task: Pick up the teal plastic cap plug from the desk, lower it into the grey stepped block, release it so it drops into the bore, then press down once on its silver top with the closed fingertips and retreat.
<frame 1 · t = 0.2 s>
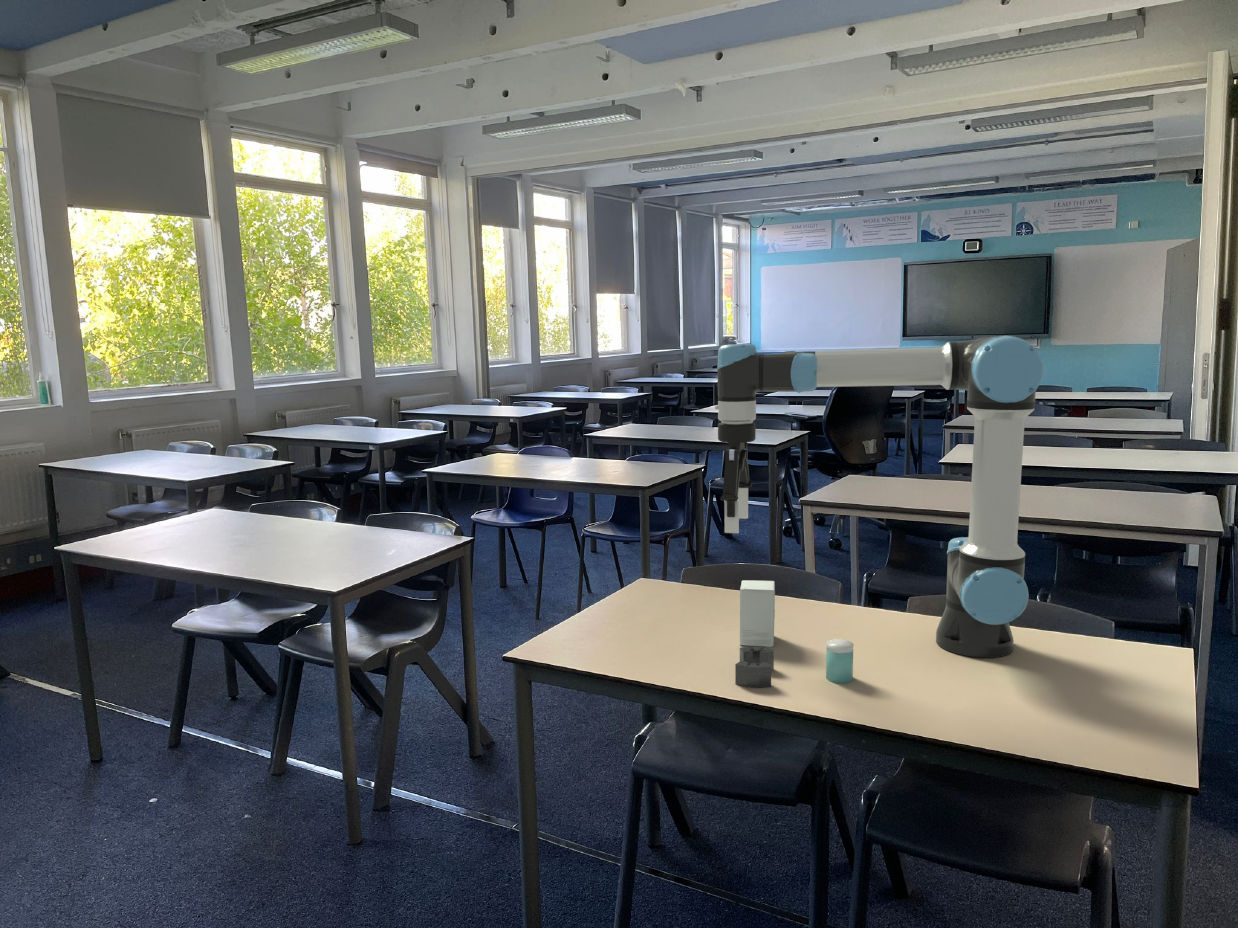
hand: (736, 525, 176), 27 cm above the table, fingers open, 13 cm apart
cap plug: (839, 678, 166), on the table
supplement box: (757, 641, 188), on the table
grey stepped block: (754, 676, 168), on the table
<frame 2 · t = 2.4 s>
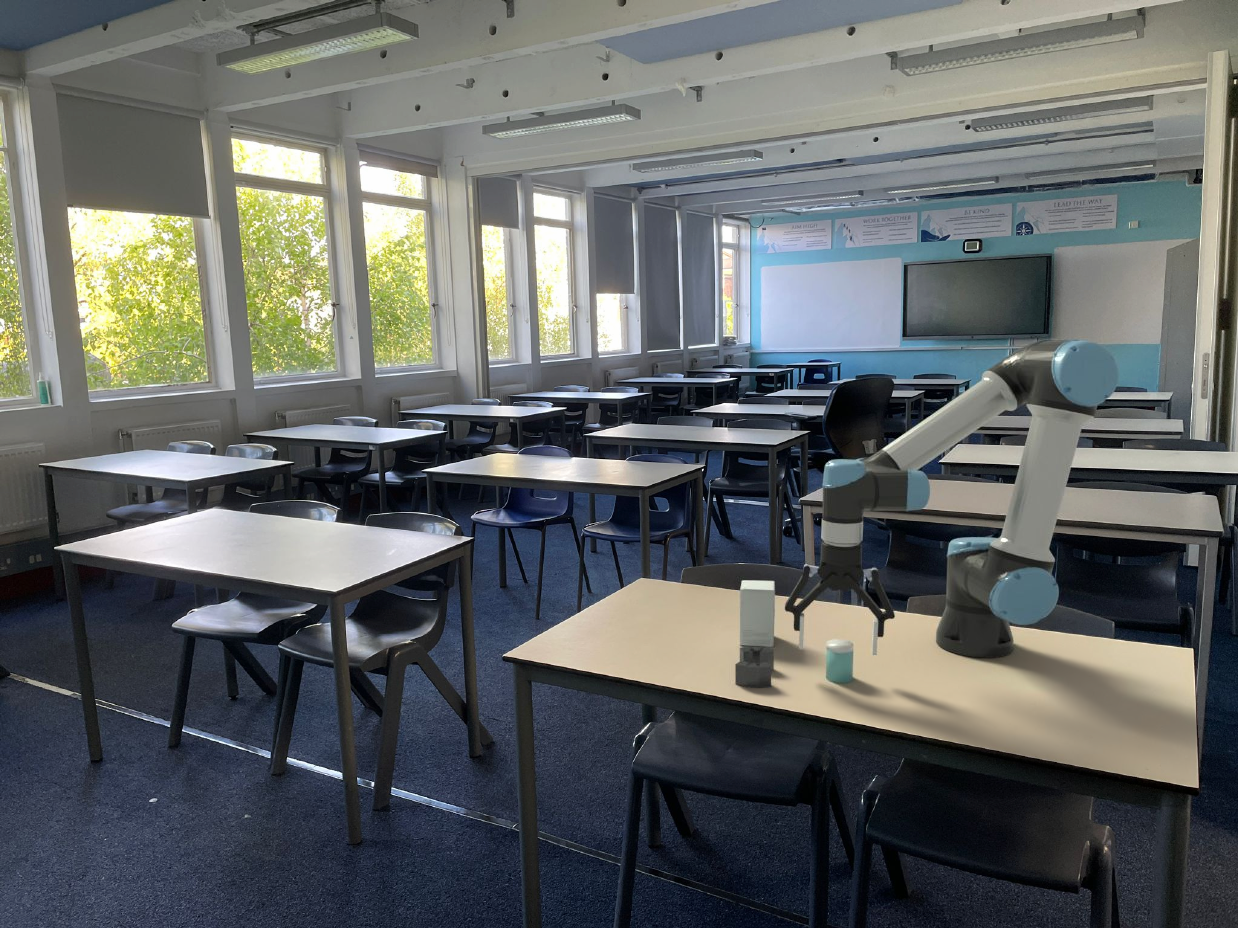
hand: (837, 649, 165), 6 cm above the table, fingers open, 13 cm apart
nothing on the table moved.
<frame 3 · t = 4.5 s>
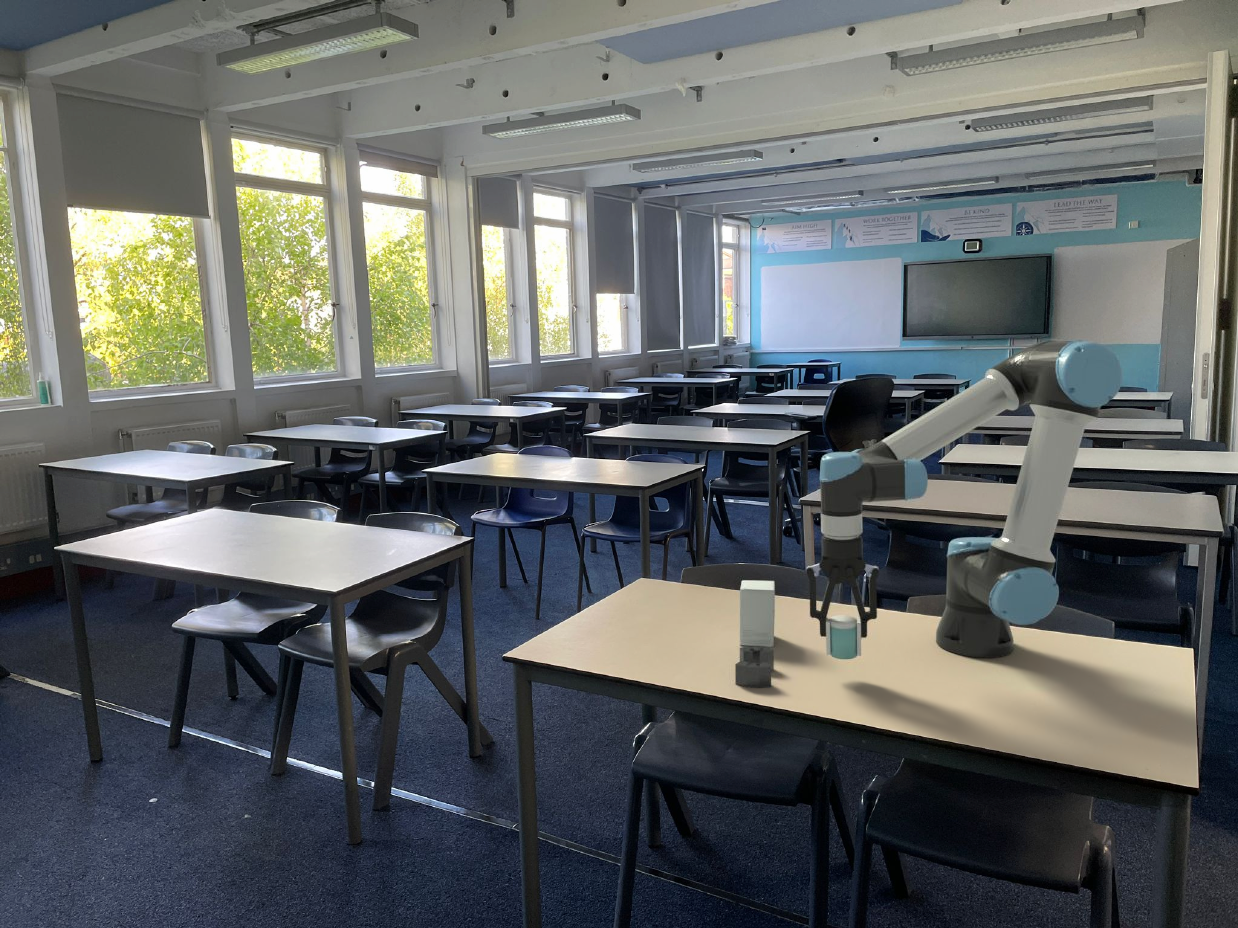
hand: (843, 652, 166), 5 cm above the table, fingers closed on cap plug, 5 cm apart
cap plug: (843, 654, 166), point 5 cm above the table, touching gripper
everything else where it was.
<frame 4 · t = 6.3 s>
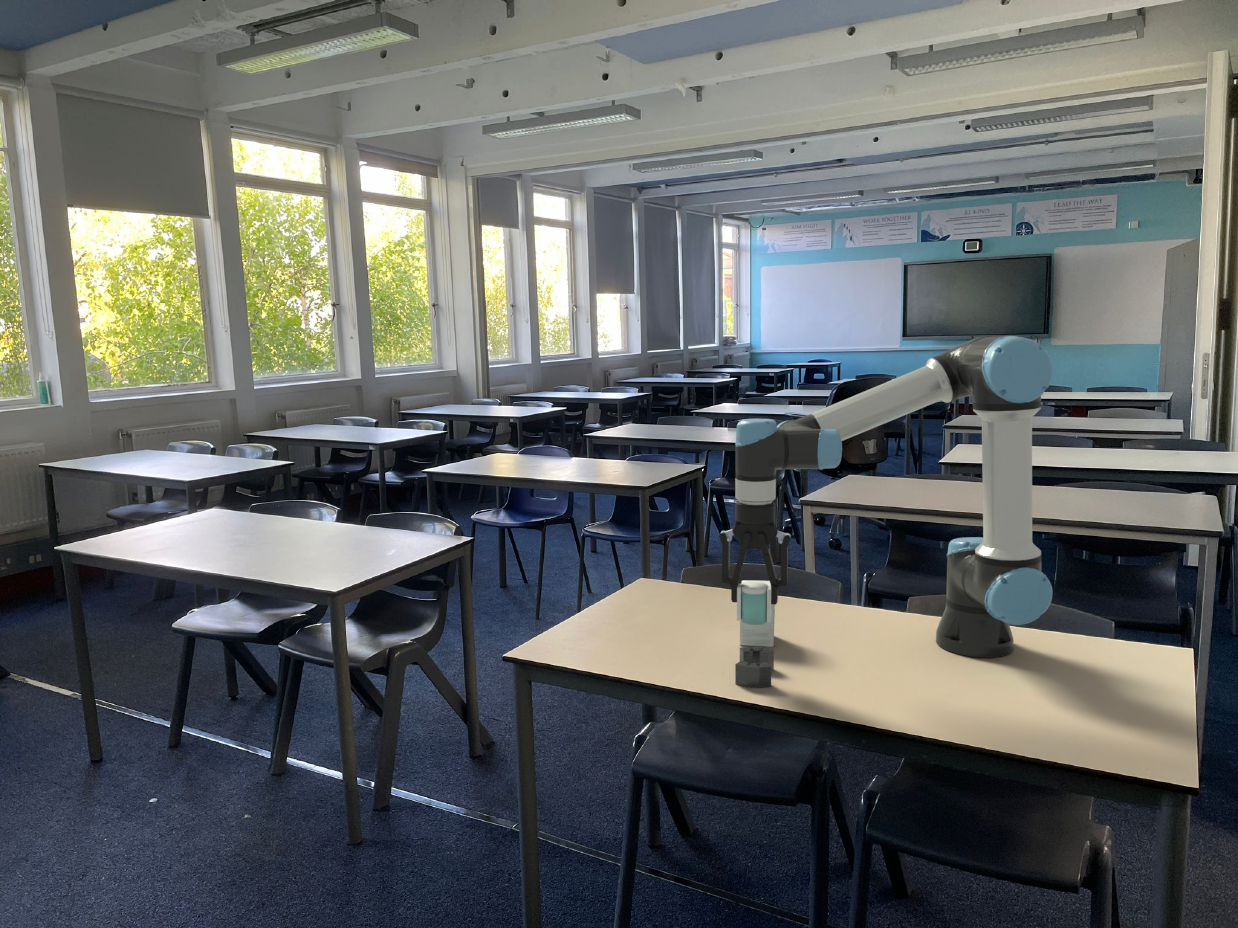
hand: (754, 618, 166), 12 cm above the table, fingers closed on cap plug, 5 cm apart
cap plug: (754, 620, 166), point 11 cm above the table, touching gripper
everything else where it was.
when the fingers open (0 cm above the table, at t = 8.2 s): cap plug stays where it is, on the table.
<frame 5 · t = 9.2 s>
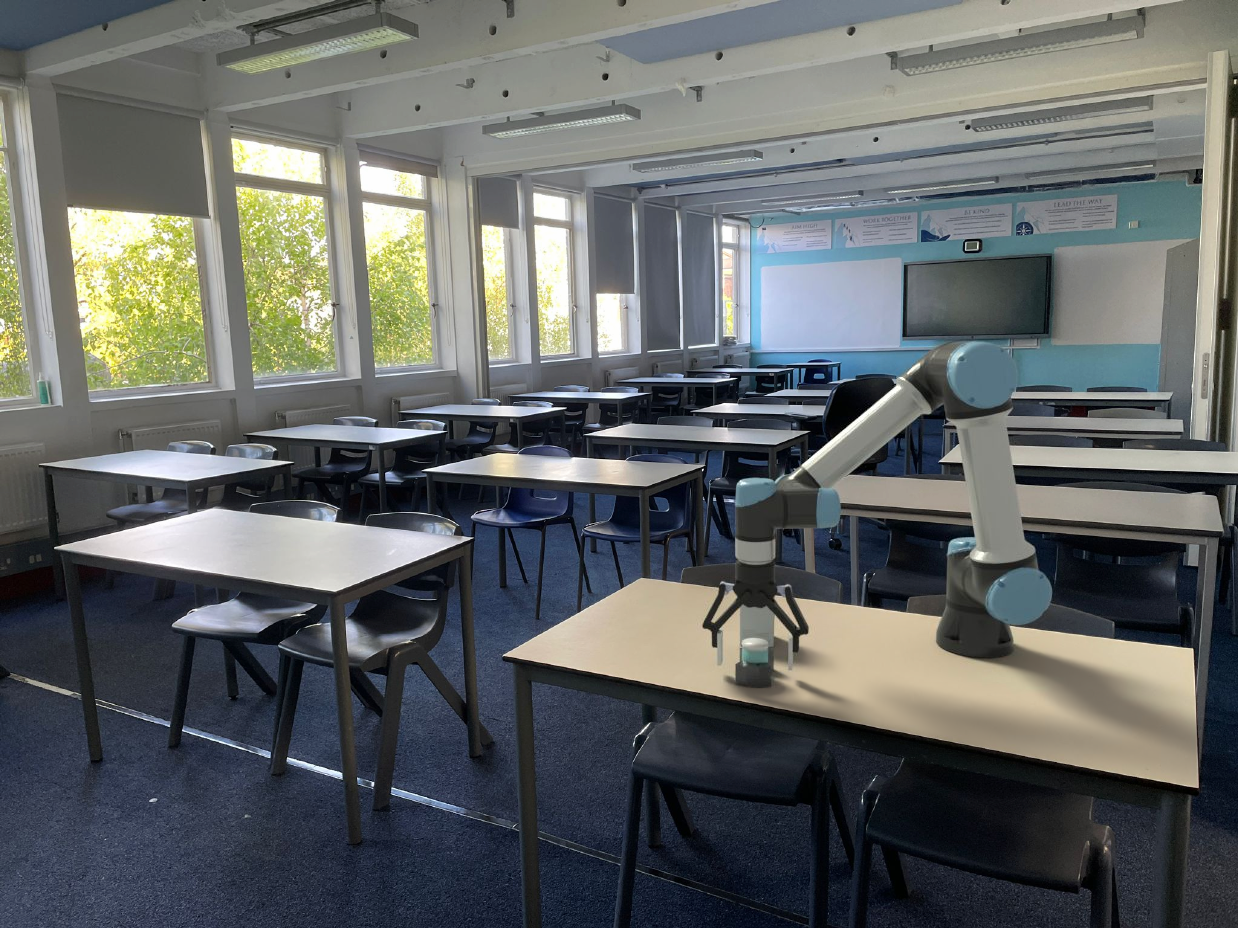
hand: (755, 665, 168), 2 cm above the table, fingers open, 13 cm apart
cap plug: (754, 676, 168), on the table
everything else where it was.
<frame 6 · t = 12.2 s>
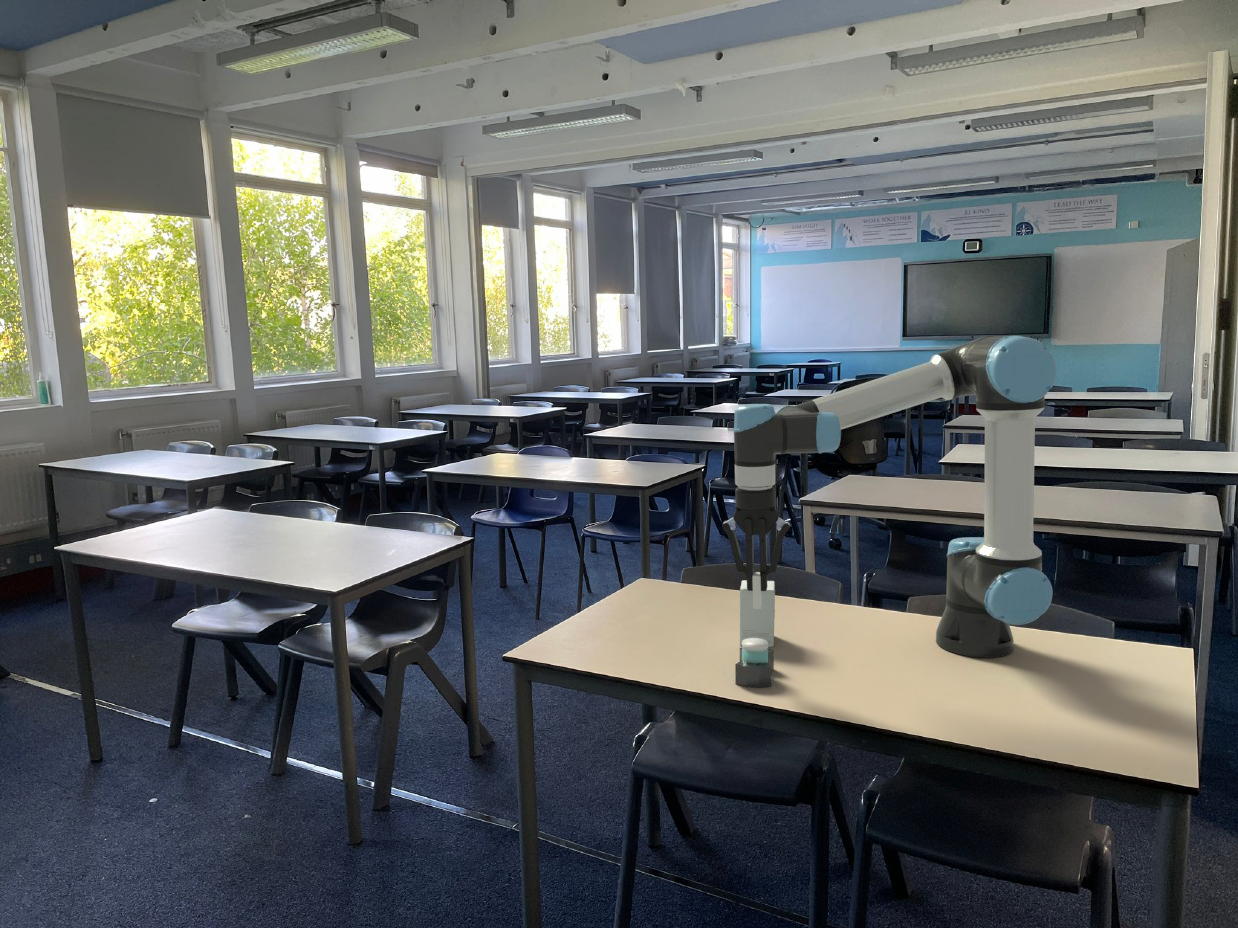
hand: (757, 606, 166), 14 cm above the table, fingers closed
nothing on the table moved.
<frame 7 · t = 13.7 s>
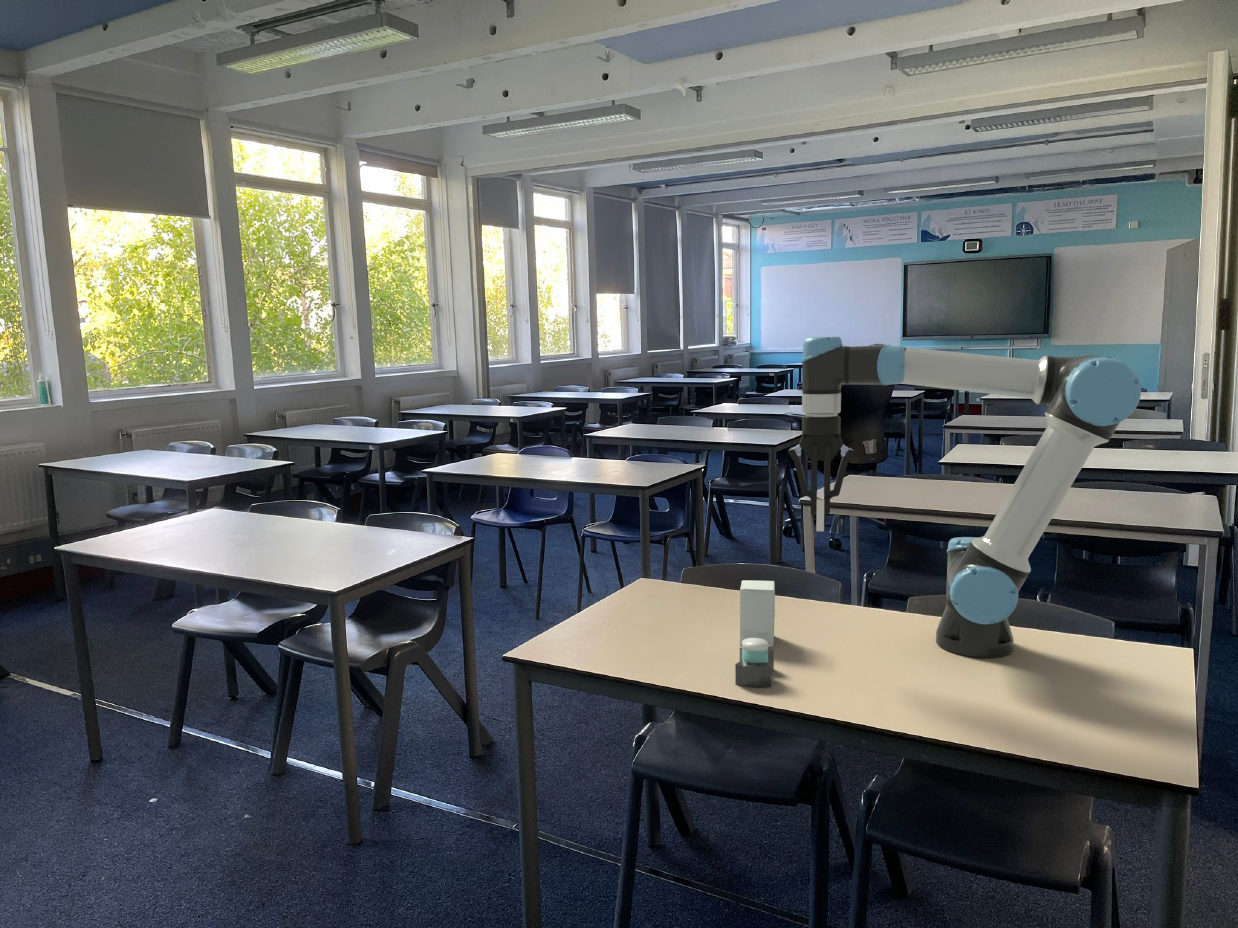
hand: (820, 529, 176), 26 cm above the table, fingers closed
nothing on the table moved.
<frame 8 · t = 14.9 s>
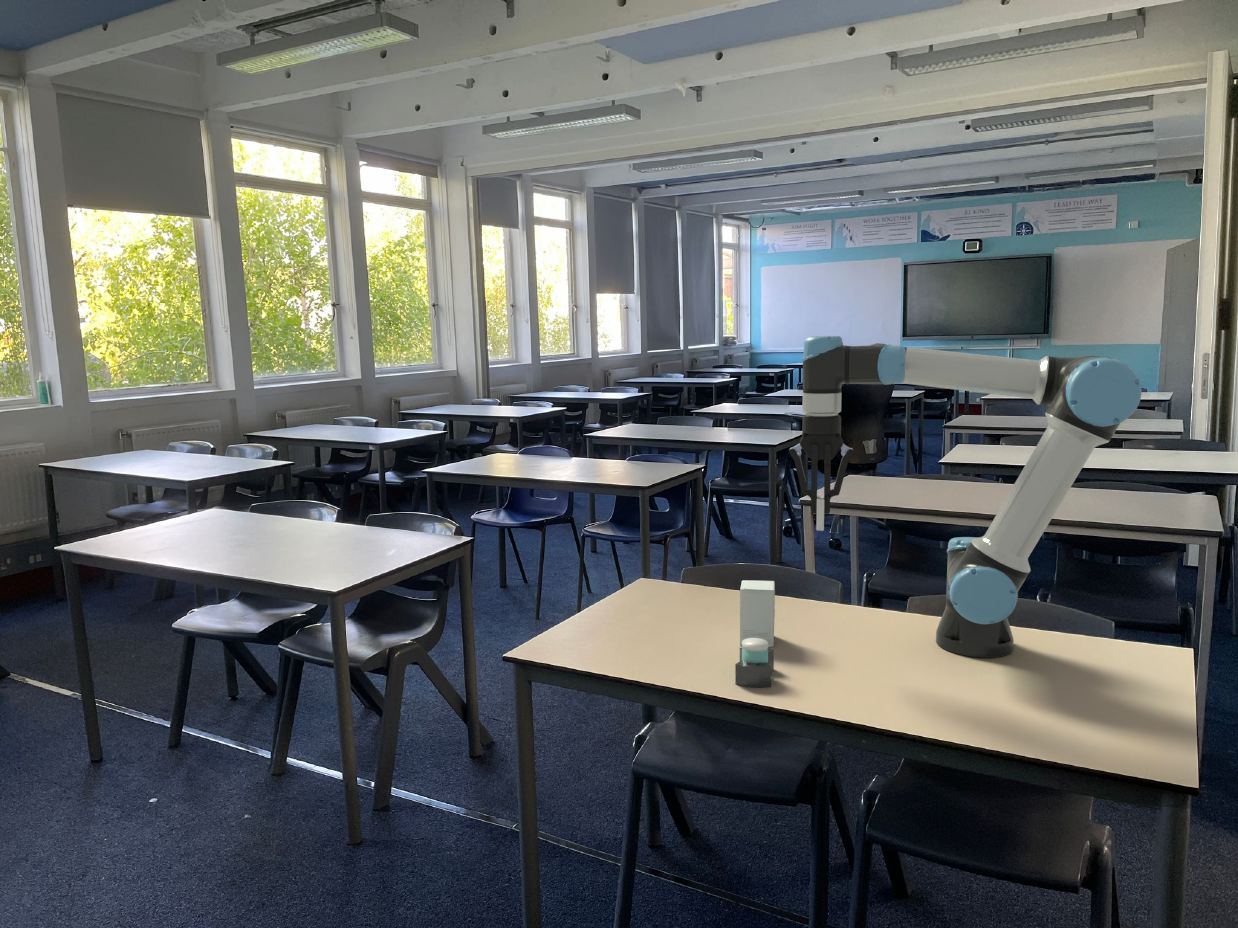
hand: (820, 528, 176), 26 cm above the table, fingers closed
nothing on the table moved.
at the end: cap plug 0.1 cm from the grey stepped block (horizontally); cap plug on the table; cap plug tilted 0° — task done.
